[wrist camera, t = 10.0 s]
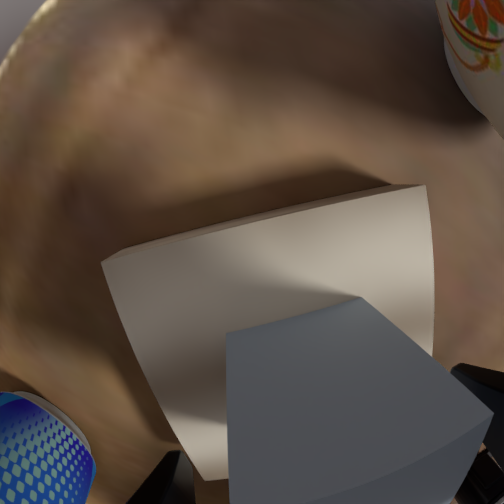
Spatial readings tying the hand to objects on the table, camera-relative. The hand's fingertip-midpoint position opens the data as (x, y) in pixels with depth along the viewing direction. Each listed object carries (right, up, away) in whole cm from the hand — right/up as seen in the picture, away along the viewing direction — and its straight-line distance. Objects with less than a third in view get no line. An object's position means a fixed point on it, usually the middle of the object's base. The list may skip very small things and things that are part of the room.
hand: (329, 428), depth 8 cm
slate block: (0, +1, +3) cm, 3 cm away
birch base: (0, +1, +6) cm, 6 cm away
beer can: (-16, -7, +6) cm, 18 cm away
